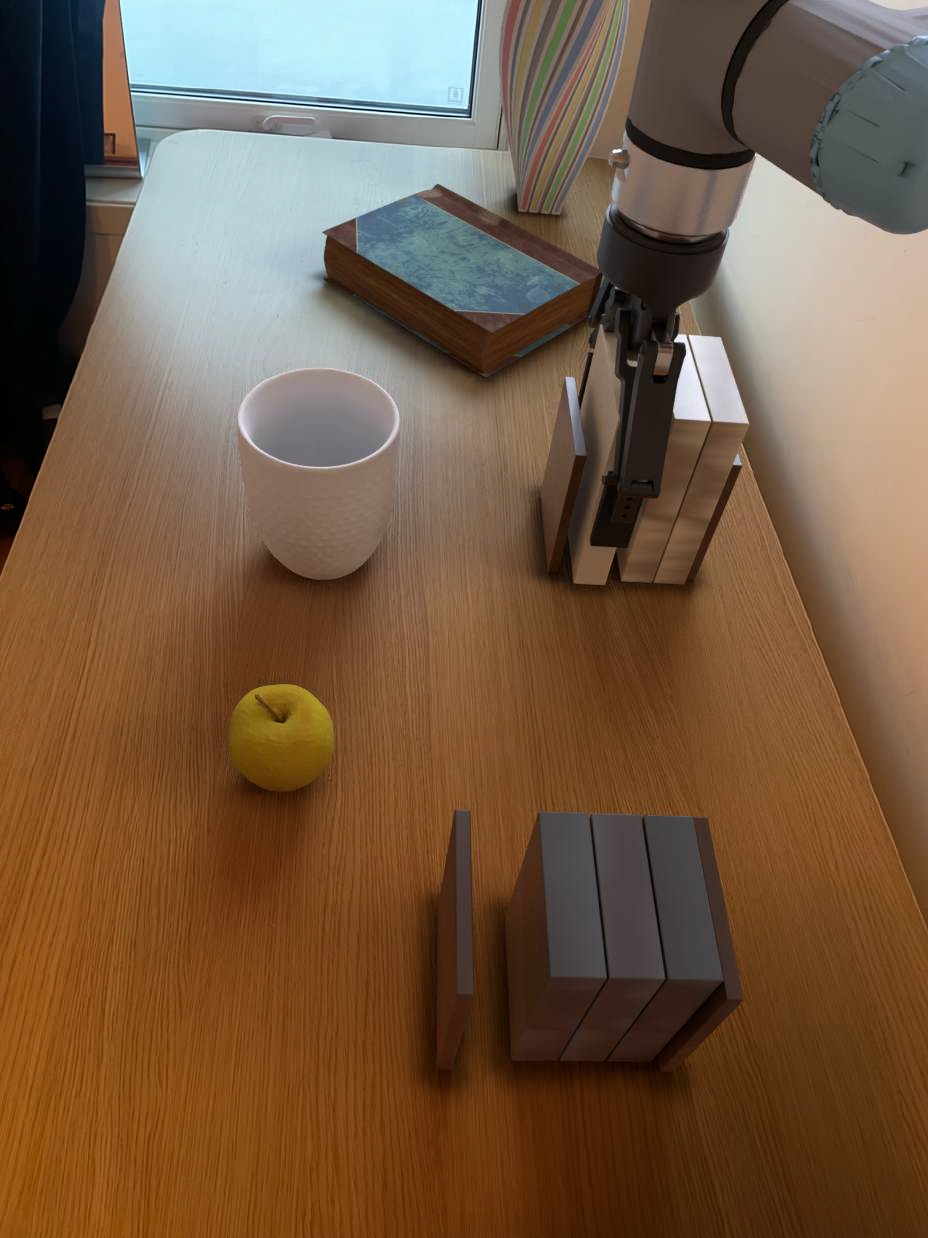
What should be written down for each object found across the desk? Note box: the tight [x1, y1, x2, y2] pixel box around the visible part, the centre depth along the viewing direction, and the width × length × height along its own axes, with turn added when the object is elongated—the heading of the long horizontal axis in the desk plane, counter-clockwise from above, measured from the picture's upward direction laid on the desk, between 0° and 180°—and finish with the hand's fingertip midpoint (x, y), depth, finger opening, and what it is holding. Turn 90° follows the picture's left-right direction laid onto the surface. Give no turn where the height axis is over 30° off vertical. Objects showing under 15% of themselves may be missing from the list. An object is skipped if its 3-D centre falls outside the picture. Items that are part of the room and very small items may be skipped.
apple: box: [228, 683, 335, 793], centre depth 57 cm, size 6×6×8 cm
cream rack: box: [539, 333, 750, 585], centre depth 71 cm, size 12×10×16 cm
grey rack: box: [436, 808, 745, 1073], centre depth 48 cm, size 13×9×13 cm
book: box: [321, 183, 604, 379], centre depth 96 cm, size 23×18×5 cm
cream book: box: [567, 324, 637, 586], centre depth 71 cm, size 2×11×16 cm, turn 1°
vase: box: [498, 0, 630, 216], centre depth 101 cm, size 14×14×30 cm
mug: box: [236, 367, 401, 581], centre depth 69 cm, size 15×11×13 cm
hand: (598, 480), depth 72 cm, fingers open, 13 cm apart
